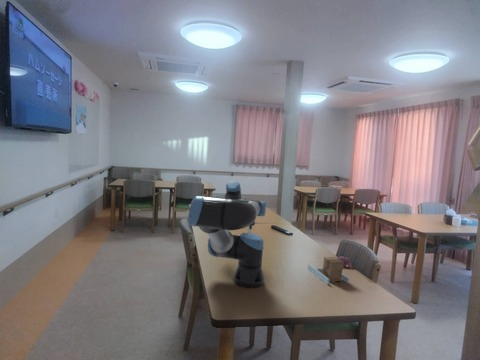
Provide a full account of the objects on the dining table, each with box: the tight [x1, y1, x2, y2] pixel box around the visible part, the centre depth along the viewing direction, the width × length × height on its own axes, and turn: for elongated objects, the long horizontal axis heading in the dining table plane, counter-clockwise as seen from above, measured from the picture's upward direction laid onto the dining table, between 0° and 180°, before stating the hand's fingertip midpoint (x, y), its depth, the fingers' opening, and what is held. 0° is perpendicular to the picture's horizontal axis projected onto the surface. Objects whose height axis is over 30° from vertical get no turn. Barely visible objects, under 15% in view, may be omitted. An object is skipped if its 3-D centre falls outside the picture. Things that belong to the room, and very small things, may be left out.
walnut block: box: [322, 256, 344, 283], centre depth 163 cm, size 7×7×11 cm
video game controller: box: [335, 256, 353, 269], centre depth 183 cm, size 10×5×7 cm, turn 92°
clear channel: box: [307, 263, 350, 285], centre depth 167 cm, size 20×13×3 cm, turn 17°
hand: (238, 231), depth 182 cm, fingers open, 13 cm apart
